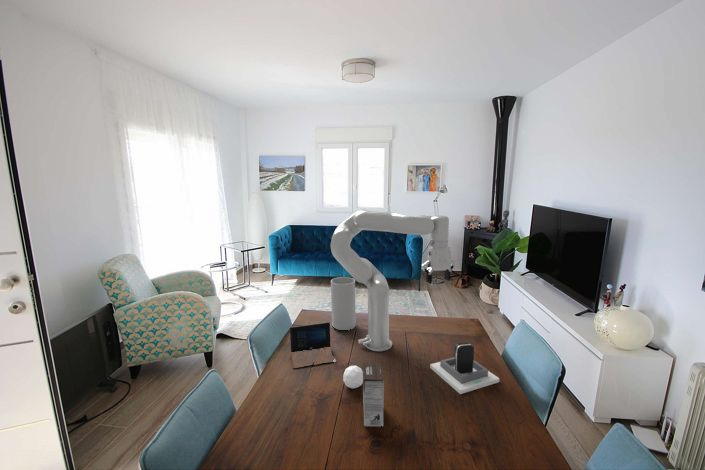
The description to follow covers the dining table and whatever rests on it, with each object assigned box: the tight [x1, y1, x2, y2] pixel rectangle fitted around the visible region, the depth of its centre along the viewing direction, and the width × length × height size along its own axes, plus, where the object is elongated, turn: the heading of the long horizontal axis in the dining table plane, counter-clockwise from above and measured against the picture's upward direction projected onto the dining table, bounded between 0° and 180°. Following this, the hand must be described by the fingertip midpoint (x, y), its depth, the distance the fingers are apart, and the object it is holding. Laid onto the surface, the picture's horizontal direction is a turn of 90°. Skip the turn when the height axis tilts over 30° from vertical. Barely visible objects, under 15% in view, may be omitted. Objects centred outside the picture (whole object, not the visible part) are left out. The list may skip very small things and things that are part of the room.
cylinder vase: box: [330, 276, 357, 331], centre depth 167 cm, size 12×12×25 cm
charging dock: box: [429, 356, 500, 395], centre depth 124 cm, size 18×18×4 cm
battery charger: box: [453, 341, 475, 374], centre depth 124 cm, size 7×4×11 cm, turn 100°
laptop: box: [289, 321, 337, 363], centre depth 137 cm, size 18×12×13 cm
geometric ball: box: [342, 365, 363, 389], centre depth 118 cm, size 8×8×8 cm
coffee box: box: [362, 362, 385, 427], centre depth 102 cm, size 9×6×16 cm
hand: (438, 281), depth 144 cm, fingers open, 9 cm apart
